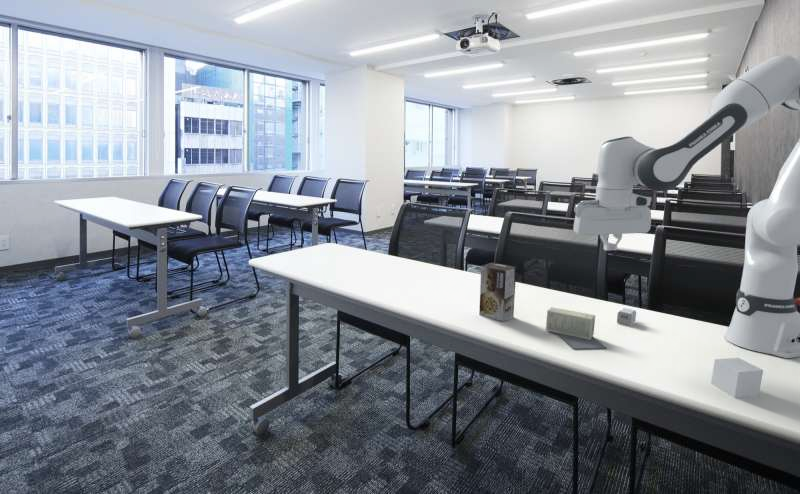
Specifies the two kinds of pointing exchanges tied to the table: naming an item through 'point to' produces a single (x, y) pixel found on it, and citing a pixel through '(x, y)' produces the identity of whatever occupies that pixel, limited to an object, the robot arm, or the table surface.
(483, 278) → the coffee box
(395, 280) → the table surface
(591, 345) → the rubber mat
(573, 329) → the skincare box
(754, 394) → the light grey cube
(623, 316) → the usb wall charger
